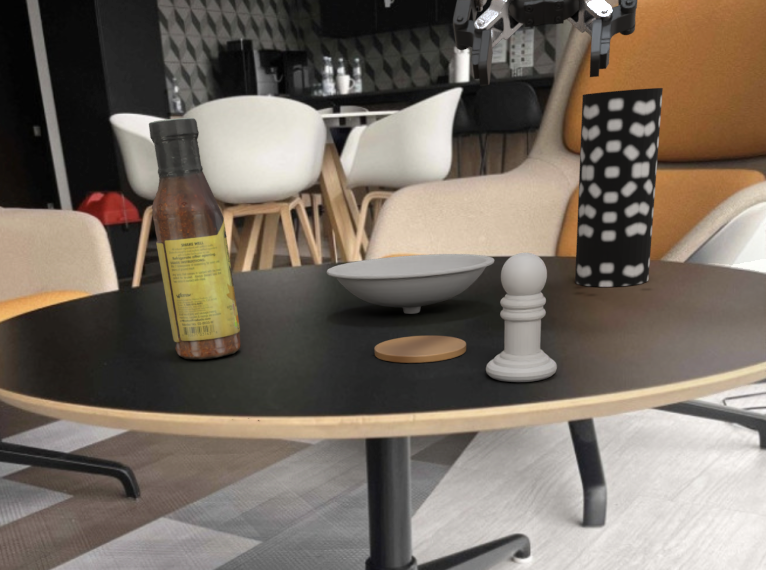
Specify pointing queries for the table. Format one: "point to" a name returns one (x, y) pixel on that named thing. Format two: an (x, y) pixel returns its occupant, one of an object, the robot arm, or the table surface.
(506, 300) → the chess piece
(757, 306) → the table surface
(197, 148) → the sauce bottle
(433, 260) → the dish
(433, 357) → the cork coaster
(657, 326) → the table surface
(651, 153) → the spotted tube
